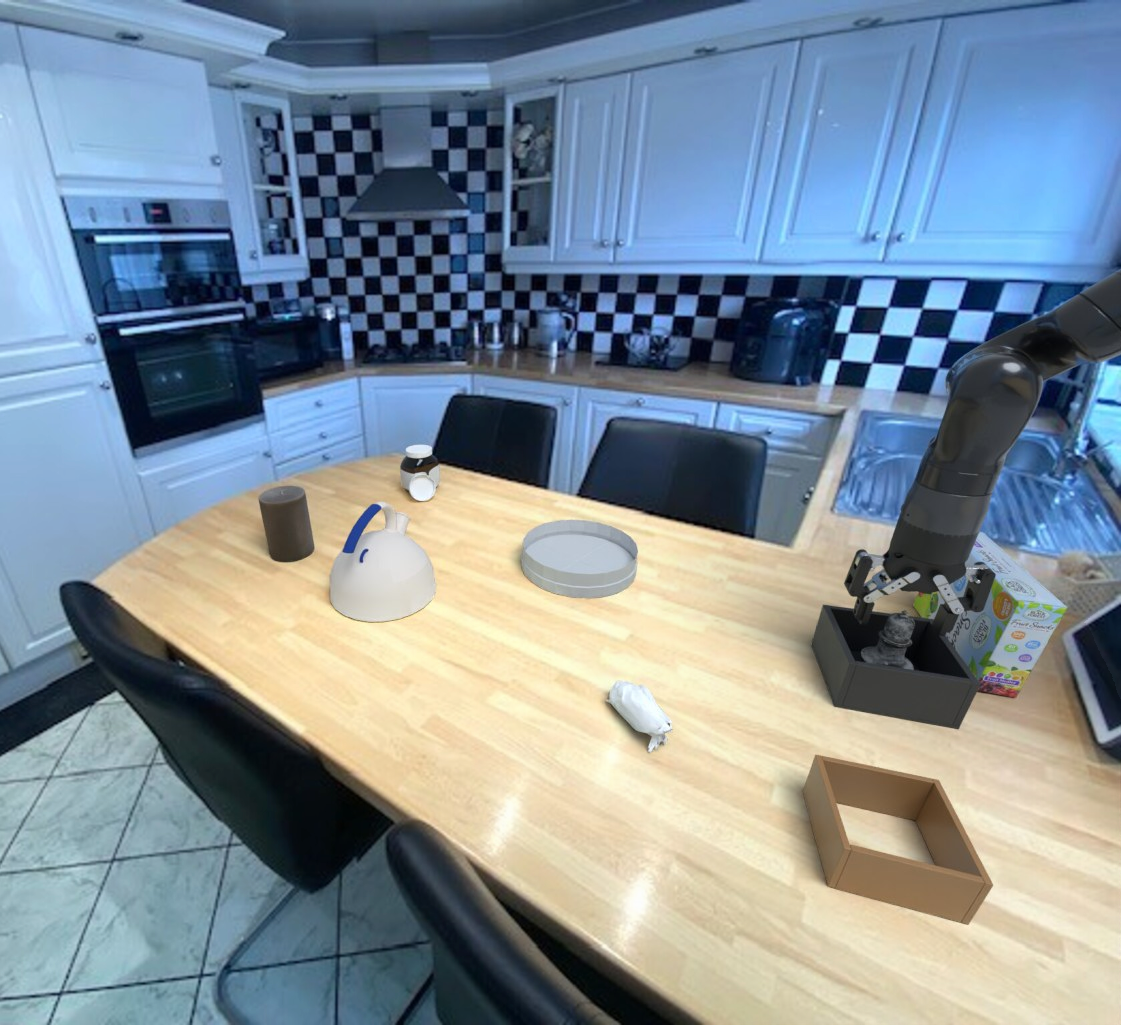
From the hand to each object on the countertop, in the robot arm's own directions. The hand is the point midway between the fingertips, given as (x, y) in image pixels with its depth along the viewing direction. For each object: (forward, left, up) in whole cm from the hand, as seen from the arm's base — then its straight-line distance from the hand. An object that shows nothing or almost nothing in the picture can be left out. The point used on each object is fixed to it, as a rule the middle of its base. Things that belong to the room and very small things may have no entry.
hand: (898, 626), depth 75 cm
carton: (+8, +28, -10) cm, 31 cm away
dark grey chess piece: (0, 0, -9) cm, 9 cm away
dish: (+44, -21, -10) cm, 50 cm away
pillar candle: (+104, -12, -10) cm, 105 cm away
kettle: (+78, -3, -10) cm, 79 cm away
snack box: (-14, -12, -10) cm, 21 cm away
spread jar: (+87, -48, -10) cm, 100 cm away
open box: (0, 0, -10) cm, 10 cm away
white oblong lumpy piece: (+32, +17, -10) cm, 38 cm away
